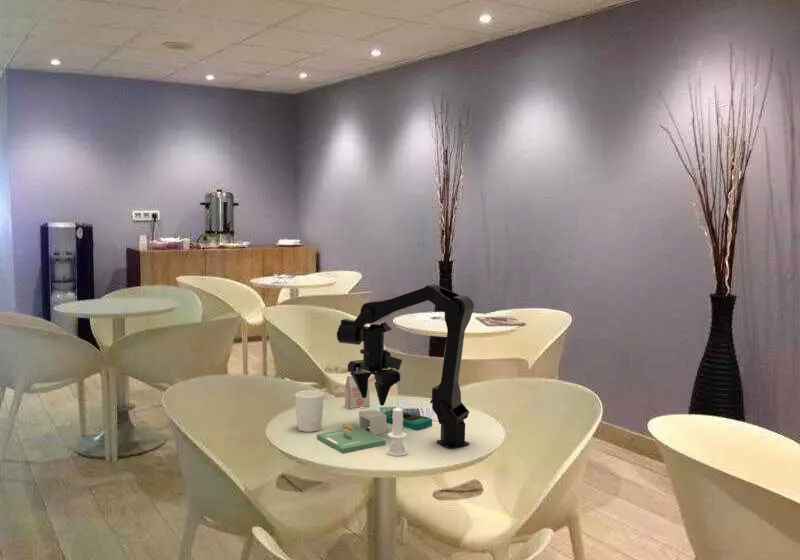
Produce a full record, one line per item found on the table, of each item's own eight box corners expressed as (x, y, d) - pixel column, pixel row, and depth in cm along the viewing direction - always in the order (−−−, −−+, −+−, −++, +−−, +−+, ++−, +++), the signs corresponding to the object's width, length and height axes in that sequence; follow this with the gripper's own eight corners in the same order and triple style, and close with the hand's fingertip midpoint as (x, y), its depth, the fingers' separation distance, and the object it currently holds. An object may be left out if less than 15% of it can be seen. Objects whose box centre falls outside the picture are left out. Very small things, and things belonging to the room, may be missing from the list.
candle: (386, 449, 193) (386, 404, 192) (406, 449, 194) (407, 404, 192) (387, 456, 188) (388, 409, 187) (408, 456, 188) (409, 409, 187)
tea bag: (344, 406, 233) (345, 375, 232) (365, 404, 236) (365, 373, 235) (348, 409, 230) (349, 377, 229) (369, 407, 232) (369, 376, 231)
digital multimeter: (394, 417, 224) (394, 407, 224) (433, 427, 215) (433, 417, 214) (377, 422, 219) (377, 412, 218) (417, 432, 209) (417, 422, 209)
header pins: (352, 439, 197) (352, 427, 197) (349, 439, 197) (349, 427, 196) (345, 435, 200) (345, 424, 200) (343, 436, 200) (343, 424, 199)
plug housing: (386, 432, 208) (386, 414, 207) (370, 435, 205) (371, 417, 204) (373, 426, 213) (373, 409, 212) (358, 429, 210) (358, 411, 210)
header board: (385, 444, 197) (385, 439, 197) (342, 453, 190) (342, 448, 190) (357, 430, 209) (358, 426, 208) (316, 438, 201) (316, 433, 201)
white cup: (329, 427, 211) (329, 392, 210) (312, 434, 205) (312, 398, 204) (306, 422, 215) (307, 388, 214) (289, 429, 209) (289, 394, 208)
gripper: (417, 349, 203) (416, 405, 205) (379, 338, 219) (379, 390, 220) (382, 353, 197) (382, 411, 199) (346, 342, 212) (346, 395, 214)
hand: (373, 401), depth 208 cm, fingers open, 9 cm apart
